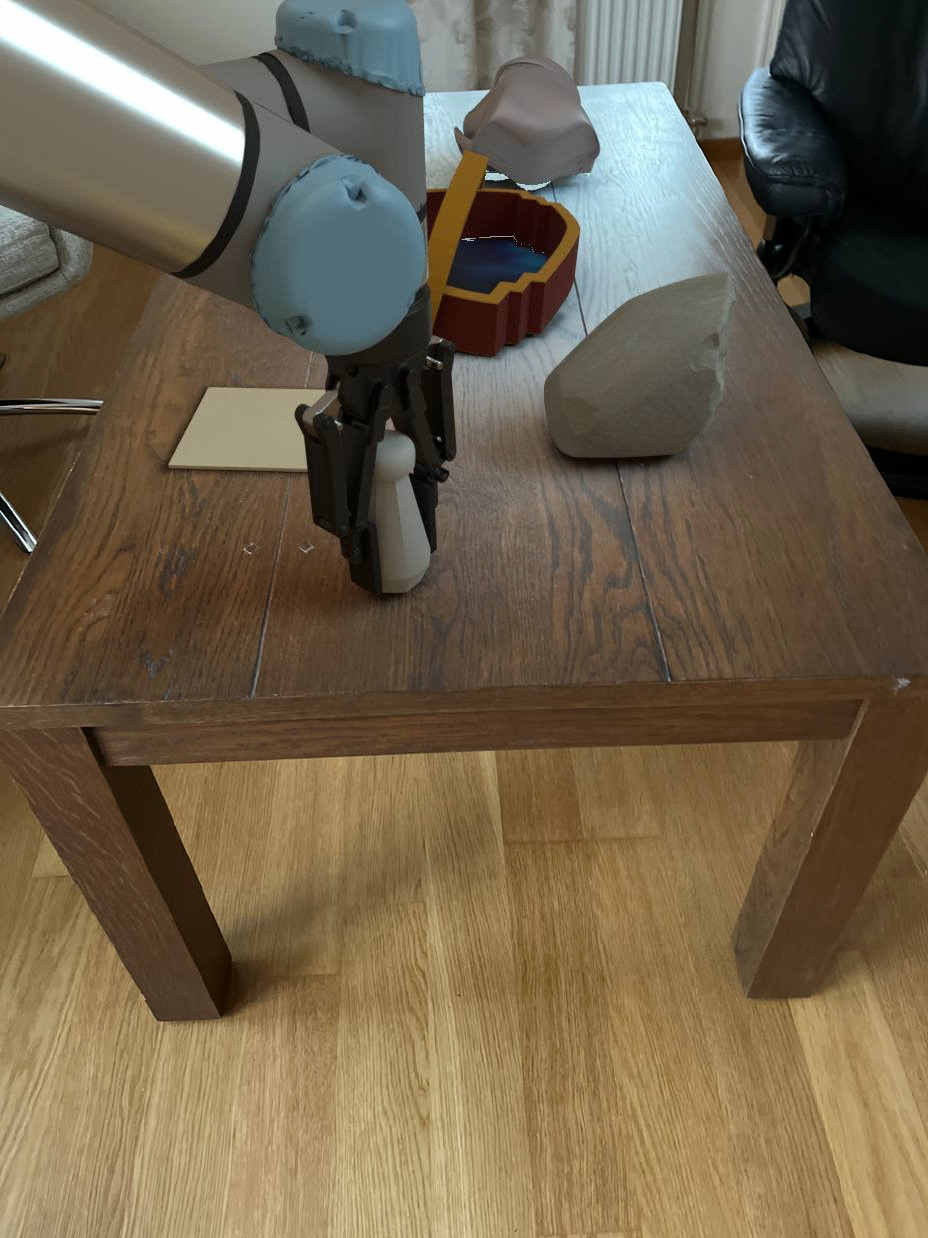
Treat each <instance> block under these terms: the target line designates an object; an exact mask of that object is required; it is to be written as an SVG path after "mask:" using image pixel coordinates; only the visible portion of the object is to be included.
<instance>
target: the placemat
mask: <svg viewBox="0 0 928 1238" xmlns="http://www.w3.org/2000/svg"><path fill="white" fill-rule="evenodd" d="M325 393H326V391H325V389H315V388H313V389H311V388H307V389H304V388H267V387H266V388H265V387H264V388H262V387H261V388H260V387H222V386H221V387H219V386H218V387H216V386H208V387H207V390H206V392H205V393H204V395H203V397H202V399H201V401H200V403H199V404H198V407H197V408H196V411H195V412H194V414H193V416H192V418H191V420H190V422H189V424H188V425H187V428H186V430H185V431H184V433H183V435H182V438H181V439H180V441H179V442H178V444H177V447H176V449H175V451H174V453H173V455H172V456H171V458H170V461H169V462H168V464H167V466H168V469H182V470H215V471H216V470H217V471H253V472H285V473H287V472H288V473H289V472H290V473H308V470H307V461H306V452H305V442H304V436H303V434H302V432H301V430H300V428H299V426H298V424H297V422H296V419H295V416H294V413H295V410H296V408H297V407H298V406H299V405H300V404H306V405H308V406H310V407H312V406H313V405H314V404H315V403H316V402H317V401H318V400H319V399H320V398H321V397H322V396H323V395H324V394H325Z"/></svg>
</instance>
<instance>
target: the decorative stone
mask: <svg viewBox="0 0 928 1238" xmlns="http://www.w3.org/2000/svg"><path fill="white" fill-rule="evenodd" d="M736 303H737V297H736V290H735V288H734V276H733V275H732V274H731V273H730V272H728V271H727V272H726V271H725V272H719V273H711V274H705V275H698V276H692V277H689V278H685V279H682V280H678V281H675V282H672V283H669V284H665V285H663V286H662V285H661V286H659V287H656V288H654V289H651V290H649V291H646V292H643V293H641V294H638V295H636V296H633V297H632V298H630V299H628V300H626V301H625V302H623V303H622V304H621V305H620V306H618V307H617V308H616V309H615V310H614V311H612V312H611V313H610V314H609V315H608V316H607V317H605V319H603V320H602V321H601V322H600V323H599V324H598V325H597V326H596V327H594V329H592V331H590V332H589V333H588V334H587V335H586V336H585V337H584V338H583V339H582V340H580V342H579V343H578V344H577V345H576V346H575V347H574V348H573V349H572V350H571V351H570V352H569V353H568V354H566V356H565V357H564V358H563V359H562V360H561V361H560V362H559V363H558V364H557V365H556V366H555V367H554V369H552V370H551V372H550V373H549V374H548V375H547V377H546V378H545V380H544V384H543V404H544V405H543V406H544V413H545V418H546V422H547V427H548V430H549V433H550V436H551V438H552V440H553V442H554V443H555V444H554V445H556V448H558V450H559V451H561V452H562V453H563V454H565V455H566V456H570V457H573V458H594V459H595V458H598V459H599V458H601V459H602V458H603V459H605V458H606V459H608V458H609V459H610V458H635V457H654V456H655V457H656V456H669V455H671V456H672V455H679V454H681V453H683V451H685V450H686V449H687V448H688V447H689V446H690V445H691V444H692V443H693V442H694V441H695V440H696V439H697V438H698V437H699V436H700V435H701V433H702V431H703V430H704V428H705V427H706V426H707V424H708V422H709V420H710V419H711V418H712V416H713V415H714V412H715V411H717V409H718V408H720V407H721V406H723V405H724V401H723V391H724V387H725V377H724V371H723V367H724V358H725V357H726V356H727V355H728V340H729V339H728V338H729V332H730V326H731V322H732V319H733V316H734V312H735V305H736Z"/></svg>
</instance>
